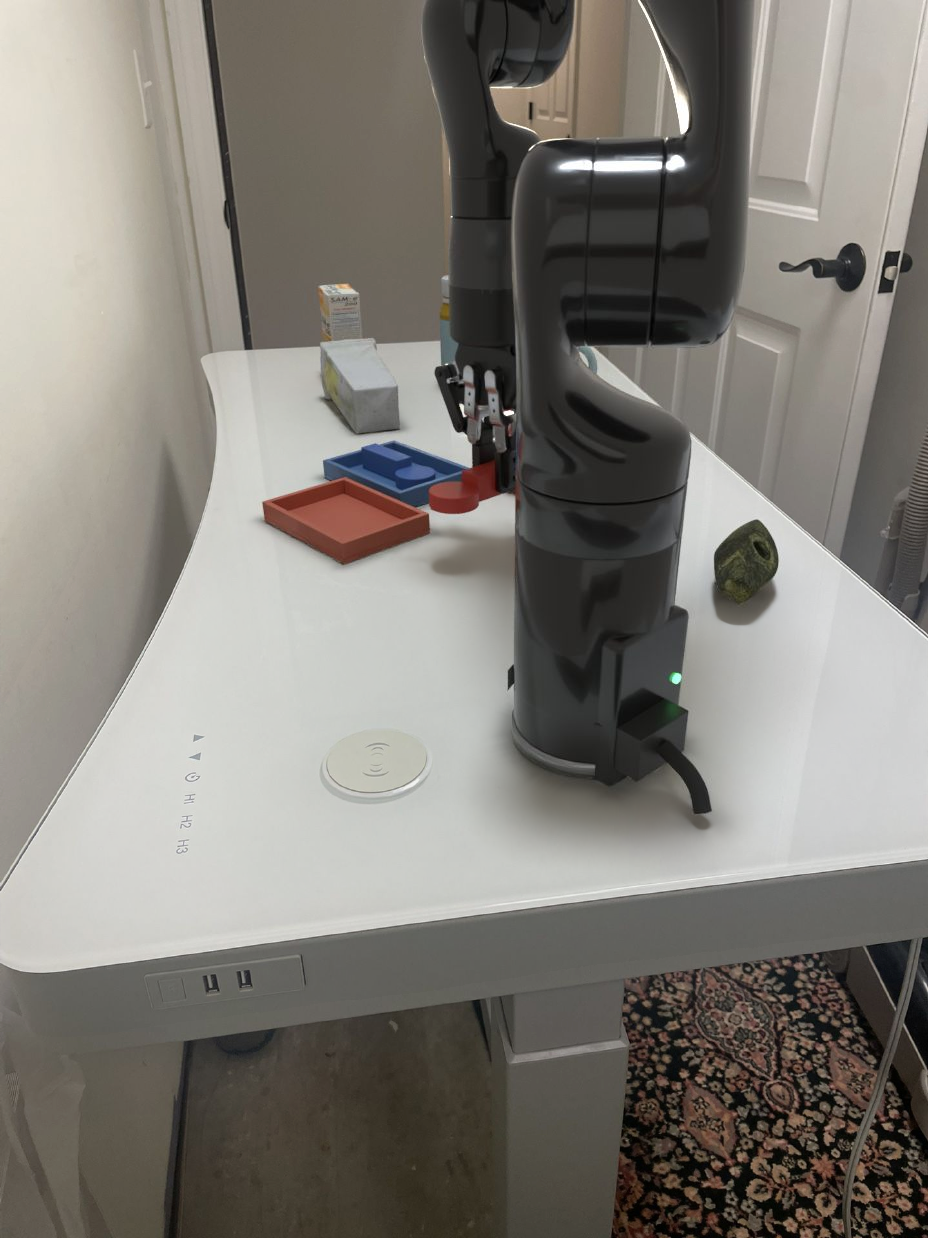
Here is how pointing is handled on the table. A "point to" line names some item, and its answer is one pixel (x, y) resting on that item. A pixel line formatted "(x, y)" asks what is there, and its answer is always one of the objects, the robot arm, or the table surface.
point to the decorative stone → (745, 562)
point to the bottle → (446, 327)
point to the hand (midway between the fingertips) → (495, 486)
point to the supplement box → (340, 312)
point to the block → (360, 384)
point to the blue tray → (413, 496)
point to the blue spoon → (395, 466)
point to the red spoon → (464, 490)
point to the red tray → (346, 519)
